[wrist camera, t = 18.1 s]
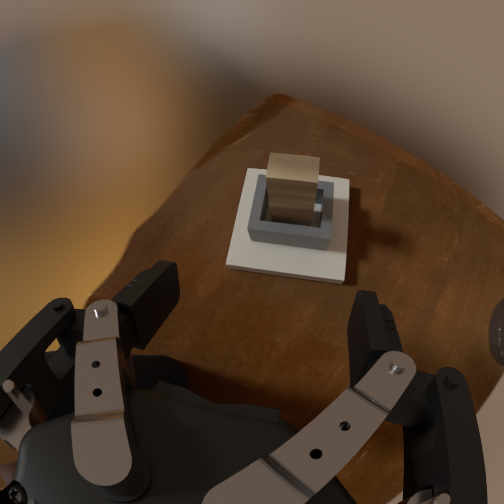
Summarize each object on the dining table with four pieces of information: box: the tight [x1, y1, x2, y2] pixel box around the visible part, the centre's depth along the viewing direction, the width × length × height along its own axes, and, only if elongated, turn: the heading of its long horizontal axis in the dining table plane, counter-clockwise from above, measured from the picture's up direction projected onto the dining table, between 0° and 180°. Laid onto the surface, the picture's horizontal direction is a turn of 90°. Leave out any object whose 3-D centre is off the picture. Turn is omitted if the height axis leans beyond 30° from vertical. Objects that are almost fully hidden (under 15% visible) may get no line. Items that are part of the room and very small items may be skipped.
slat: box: [266, 153, 320, 227], centre depth 25 cm, size 2×4×9 cm, turn 80°
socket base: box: [226, 168, 349, 284], centre depth 28 cm, size 12×12×4 cm
